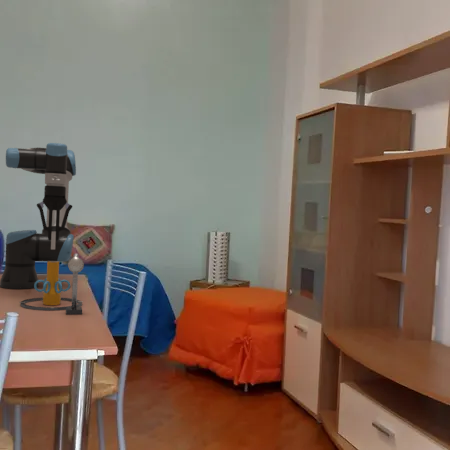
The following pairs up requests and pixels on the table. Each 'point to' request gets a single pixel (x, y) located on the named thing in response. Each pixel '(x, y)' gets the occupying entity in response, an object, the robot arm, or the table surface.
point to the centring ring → (46, 307)
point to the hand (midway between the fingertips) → (53, 249)
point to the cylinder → (52, 285)
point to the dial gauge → (75, 283)
